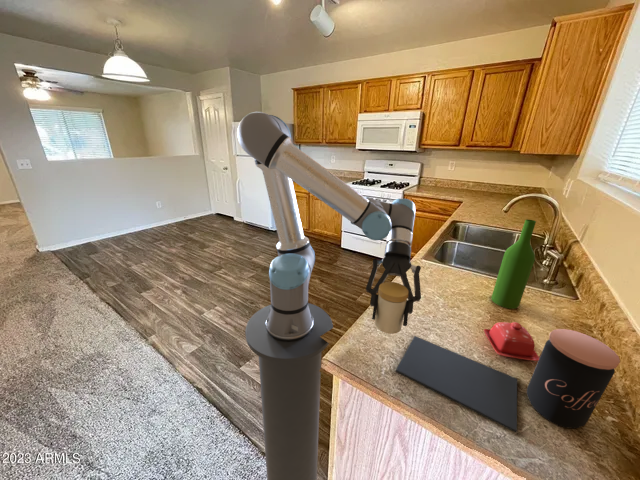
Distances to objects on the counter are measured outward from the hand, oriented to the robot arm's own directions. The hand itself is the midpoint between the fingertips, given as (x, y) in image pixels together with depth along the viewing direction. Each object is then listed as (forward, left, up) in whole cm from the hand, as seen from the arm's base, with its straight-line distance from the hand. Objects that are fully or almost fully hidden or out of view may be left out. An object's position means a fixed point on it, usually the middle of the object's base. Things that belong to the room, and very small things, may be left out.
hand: (389, 321), depth 72 cm
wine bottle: (+27, +52, -11) cm, 60 cm away
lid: (-1, +3, +8) cm, 9 cm away
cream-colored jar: (-1, +3, -4) cm, 5 cm away
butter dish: (+29, +24, -11) cm, 39 cm away
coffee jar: (+38, +7, -11) cm, 40 cm away
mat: (+18, +3, -10) cm, 21 cm away
